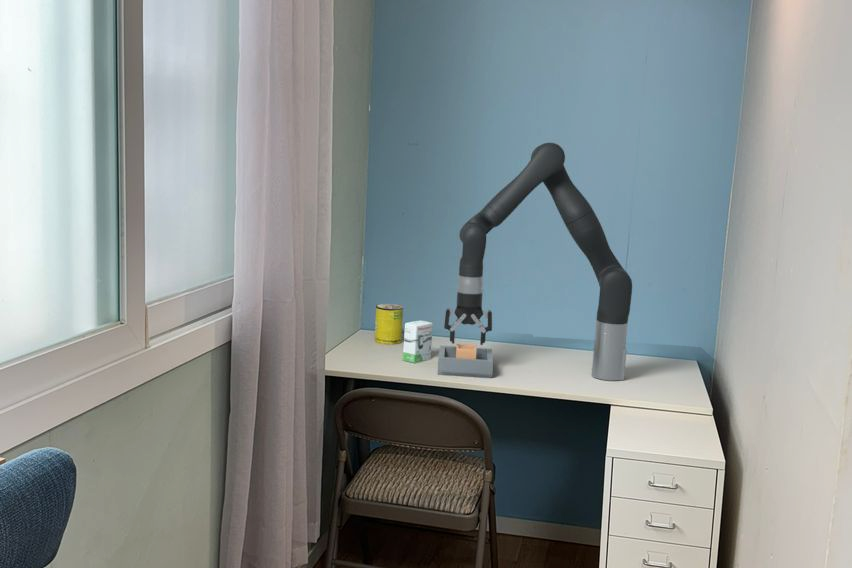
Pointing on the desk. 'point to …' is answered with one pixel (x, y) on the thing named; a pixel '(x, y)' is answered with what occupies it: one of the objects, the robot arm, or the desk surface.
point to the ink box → (417, 341)
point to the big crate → (465, 363)
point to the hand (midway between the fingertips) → (467, 343)
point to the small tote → (466, 351)
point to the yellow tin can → (388, 324)
